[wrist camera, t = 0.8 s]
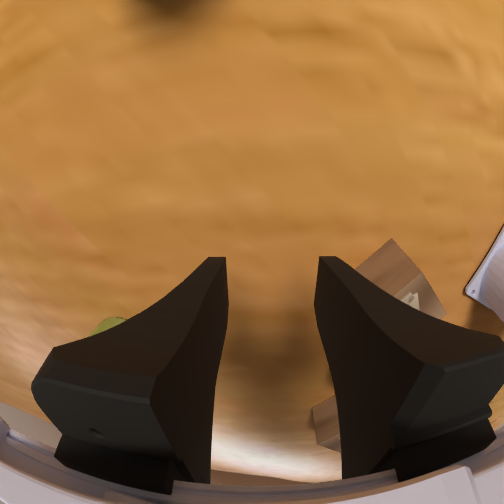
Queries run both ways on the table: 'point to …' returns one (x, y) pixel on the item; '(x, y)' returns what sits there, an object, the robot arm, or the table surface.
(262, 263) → the table surface
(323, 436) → the block one
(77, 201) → the table surface
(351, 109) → the table surface
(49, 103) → the table surface
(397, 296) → the block seven
